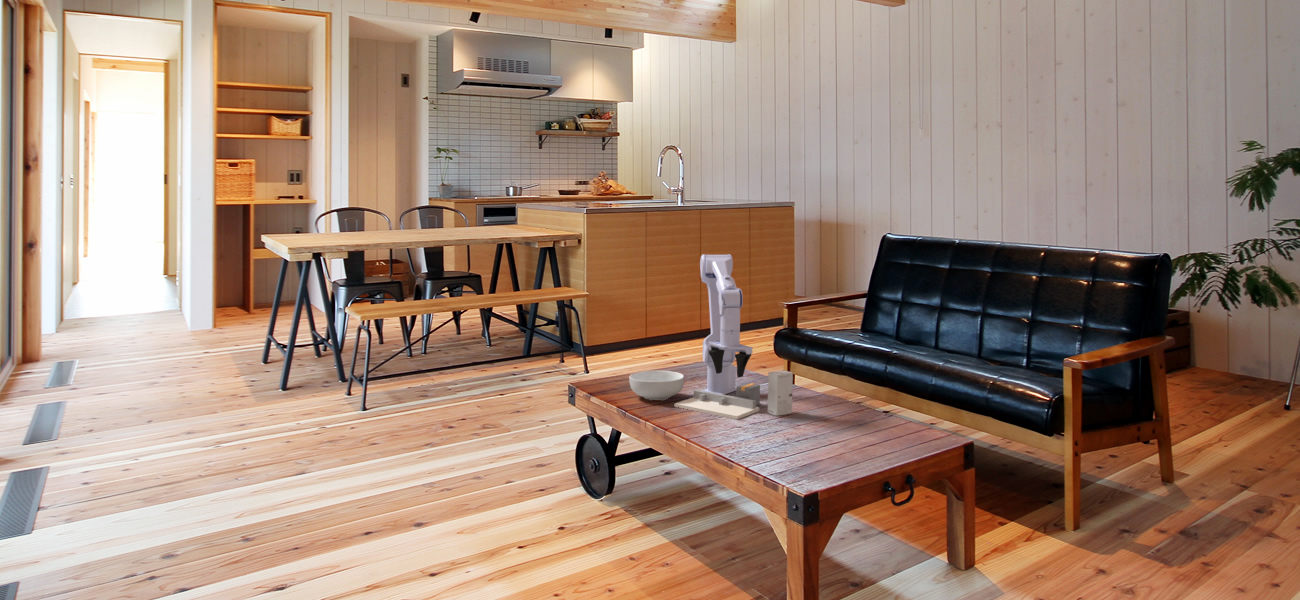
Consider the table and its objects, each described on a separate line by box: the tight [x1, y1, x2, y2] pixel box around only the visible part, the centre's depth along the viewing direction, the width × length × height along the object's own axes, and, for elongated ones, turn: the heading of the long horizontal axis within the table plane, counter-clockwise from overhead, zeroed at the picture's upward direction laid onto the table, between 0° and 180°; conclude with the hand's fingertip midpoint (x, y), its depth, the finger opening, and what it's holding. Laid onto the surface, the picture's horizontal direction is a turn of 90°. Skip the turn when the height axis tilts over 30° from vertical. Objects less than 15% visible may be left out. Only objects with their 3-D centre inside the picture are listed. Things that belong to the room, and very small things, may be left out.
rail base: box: [674, 389, 760, 420], centre depth 251 cm, size 12×22×3 cm, turn 52°
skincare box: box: [767, 369, 794, 417], centre depth 245 cm, size 6×4×12 cm
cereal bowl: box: [628, 370, 685, 401], centre depth 264 cm, size 17×17×7 cm
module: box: [735, 382, 761, 406], centre depth 255 cm, size 6×4×6 cm
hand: (729, 374), depth 253 cm, fingers open, 7 cm apart
